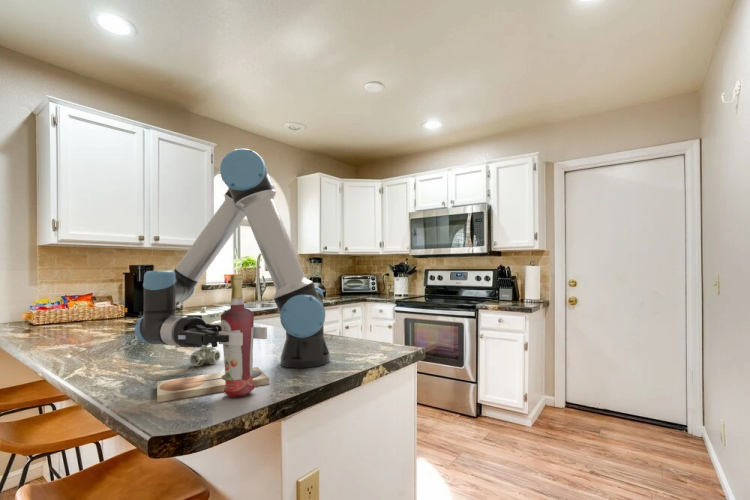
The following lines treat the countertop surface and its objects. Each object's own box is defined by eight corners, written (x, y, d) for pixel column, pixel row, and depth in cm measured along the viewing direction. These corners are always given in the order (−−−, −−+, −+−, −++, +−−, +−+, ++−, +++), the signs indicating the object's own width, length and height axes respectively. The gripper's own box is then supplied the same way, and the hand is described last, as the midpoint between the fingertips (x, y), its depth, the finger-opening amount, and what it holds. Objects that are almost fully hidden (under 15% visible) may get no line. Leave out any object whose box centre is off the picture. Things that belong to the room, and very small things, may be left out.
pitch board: (257, 372, 111) (257, 356, 111) (269, 383, 99) (268, 365, 99) (157, 387, 98) (157, 369, 98) (157, 402, 87) (157, 382, 87)
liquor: (262, 392, 91) (259, 274, 92) (234, 402, 86) (231, 276, 86) (244, 387, 96) (241, 274, 96) (216, 396, 90) (213, 275, 91)
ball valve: (199, 371, 113) (199, 310, 114) (173, 370, 115) (173, 310, 116) (233, 357, 131) (233, 304, 132) (211, 356, 132) (210, 304, 133)
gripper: (216, 339, 108) (282, 344, 98) (147, 354, 89) (219, 362, 80) (216, 312, 108) (282, 314, 98) (147, 321, 90) (219, 326, 80)
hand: (254, 336), depth 89 cm, fingers closed on liquor, 7 cm apart
